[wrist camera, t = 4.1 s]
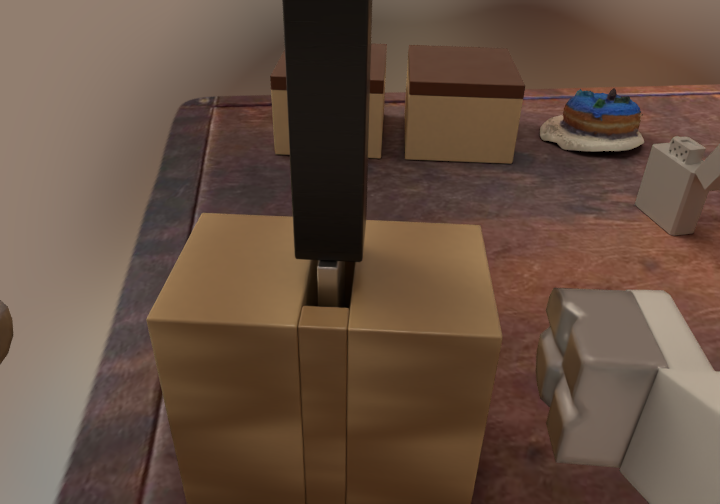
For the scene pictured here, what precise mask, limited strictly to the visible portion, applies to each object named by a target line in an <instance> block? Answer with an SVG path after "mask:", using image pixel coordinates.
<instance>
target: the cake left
mask: <svg viewBox="0 0 720 504" xmlns="http://www.w3.org/2000/svg"><path fill="white" fill-rule="evenodd" d="M386 49H387V44H371V66H370V102H369V139H368V158H381V149H382V134H383V119H384V98H385V73H386ZM270 78H271V95H272V111H273V127H274V144H275V154H284V155H290V148H289V127H288V106H287V85H286V64H285V50H284V52H283V54H282V56H281V58H280V59H279V61H278V63H277V65H276V67H275V69H274V71H273V73H272V74H271V76H270Z"/></svg>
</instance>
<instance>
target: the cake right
mask: <svg viewBox="0 0 720 504" xmlns="http://www.w3.org/2000/svg"><path fill="white" fill-rule="evenodd" d="M524 91H525V84H524V82H523V80H522V78H521V76H520V74H519V72H518V70H517V67H516V65H515V63H514V61H513V59H512V57H511V55H510V53H509V51H508V49H507V48H481V47H453V46H424V45H409V51H408V67H407V84H406V100H405V159H410V160H435V161H459V162H483V163H508V164H512V162H513V156H514V150H515V144H516V138H517V132H518V126H519V120H520V114H521V108H522V102H523V97H524Z"/></svg>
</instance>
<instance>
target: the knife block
mask: <svg viewBox="0 0 720 504" xmlns="http://www.w3.org/2000/svg"><path fill="white" fill-rule="evenodd" d="M318 261H319V260H303V259H296V258H295V254H294V233H293V217H282V216H260V215H237V214H215V213H202V214H201V216H200V218H199V220H198V222H197V224H196V225H195V227H194V229H193V231H192V233H191V235H190V237H189V239H188V241H187V243H186V245H185V246H184V248H183V250H182V252H181V254H180V256H179V258H178V260H177V262H176V264H175V266H174V267H173V269H172V271H171V273H170V275H169V277H168V279H167V281H166V283H165V285H164V287H163V288H162V290H161V292H160V294H159V296H158V298H157V300H156V302H155V304H154V306H153V308H152V309H151V311H150V313H149V315H148V317H147V325H148V329H149V334H150V338H151V343H152V347H153V352H154V356H155V361H156V365H157V370H158V375H159V379H160V384H161V388H162V393H163V397H164V402H165V406H166V411H167V415H168V420H169V424H170V429H171V434H172V438H173V443H174V447H175V452H176V456H177V461H178V465H179V470H180V474H181V479H182V484H183V488H184V493H185V497H186V502H187V504H471V501H472V496H473V491H474V485H475V480H476V475H477V470H478V464H479V459H480V454H481V449H482V443H483V438H484V433H485V428H486V422H487V417H488V412H489V407H490V401H491V396H492V391H493V385H494V380H495V375H496V370H497V364H498V359H499V354H500V349H501V343H502V338H503V337H502V332H501V327H500V322H499V317H498V312H497V307H496V302H495V296H494V291H493V286H492V281H491V276H490V271H489V266H488V261H487V256H486V251H485V246H484V241H483V235H482V230H481V226H480V225H465V224H443V223H420V222H398V221H376V220H366V228H365V239H364V250H363V260H362V261H361V262H345V308H338V307H318V280H317V266H318Z"/></svg>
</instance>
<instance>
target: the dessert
mask: <svg viewBox="0 0 720 504" xmlns="http://www.w3.org/2000/svg"><path fill="white" fill-rule="evenodd" d="M639 110H640V108H639V107H638V105H637V104H636V103H635V102H632V100H630V97H620V96H618V95H617V94H616V90H615V88H614V89H612V90H611V91H610V93H609V94H604V93H601V94H599V93H595V94H594V93H593V92H591V91H582V90H581V89H580V90H579V91H577V93H576V95H575V96H574V97H573V98H571V99H570V100H569V101H568V102H567V103H566V105H565V108H564V112H563V115H562V116H557V117H552V118H551V119H548V120H547V121H546V122H545V123H544V124H543V125H542V126H541V129H540V136H541V139H542V140H544V141H551V142H556V143H557V144H558V145H560V147H561V148H562V149H565V150H577V151H591V152H594V151H621V150H623V151H625V150H629V149H630V150H631V149H633V148H635V147H638V146H640V145H641V144H643V143H644V139H643V138H642V136H641V134H640V133H639V132H638V128H639V123H640V117H641V114H640V113H641V111H639ZM642 115H643V114H642Z"/></svg>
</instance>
